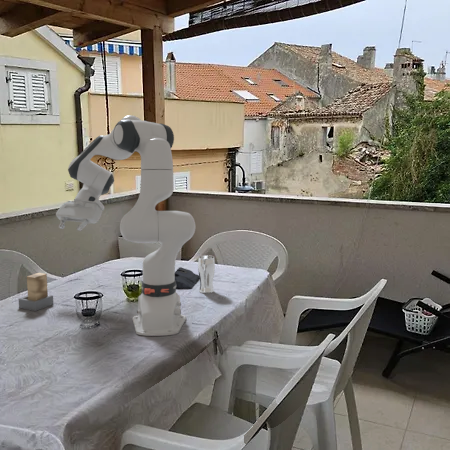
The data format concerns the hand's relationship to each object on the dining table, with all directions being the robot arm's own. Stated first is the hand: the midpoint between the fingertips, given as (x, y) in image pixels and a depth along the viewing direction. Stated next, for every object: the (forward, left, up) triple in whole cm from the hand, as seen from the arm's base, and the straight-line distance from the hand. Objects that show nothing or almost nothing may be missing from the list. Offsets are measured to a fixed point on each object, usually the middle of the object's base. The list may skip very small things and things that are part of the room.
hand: (69, 228), depth 203 cm
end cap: (-14, +10, -27) cm, 33 cm away
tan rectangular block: (-14, +10, -27) cm, 32 cm away
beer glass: (+1, -55, -28) cm, 62 cm away
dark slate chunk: (+16, -44, -28) cm, 55 cm away
